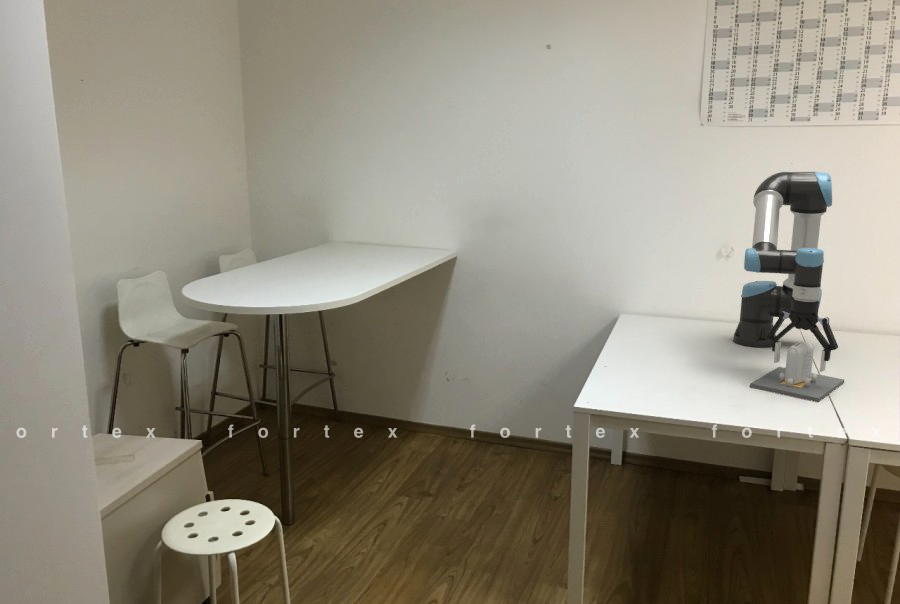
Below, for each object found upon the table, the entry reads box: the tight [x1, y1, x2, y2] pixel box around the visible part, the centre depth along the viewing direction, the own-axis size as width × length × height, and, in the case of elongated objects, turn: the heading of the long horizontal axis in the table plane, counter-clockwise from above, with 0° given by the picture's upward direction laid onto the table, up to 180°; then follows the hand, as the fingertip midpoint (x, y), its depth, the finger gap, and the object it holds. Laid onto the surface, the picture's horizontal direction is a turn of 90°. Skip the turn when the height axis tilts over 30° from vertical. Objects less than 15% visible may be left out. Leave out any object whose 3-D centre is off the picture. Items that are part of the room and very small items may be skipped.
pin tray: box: [749, 366, 845, 403], centre depth 228 cm, size 20×24×4 cm
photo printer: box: [785, 341, 815, 384], centre depth 227 cm, size 10×4×12 cm, turn 127°
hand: (799, 366), depth 227 cm, fingers open, 13 cm apart
